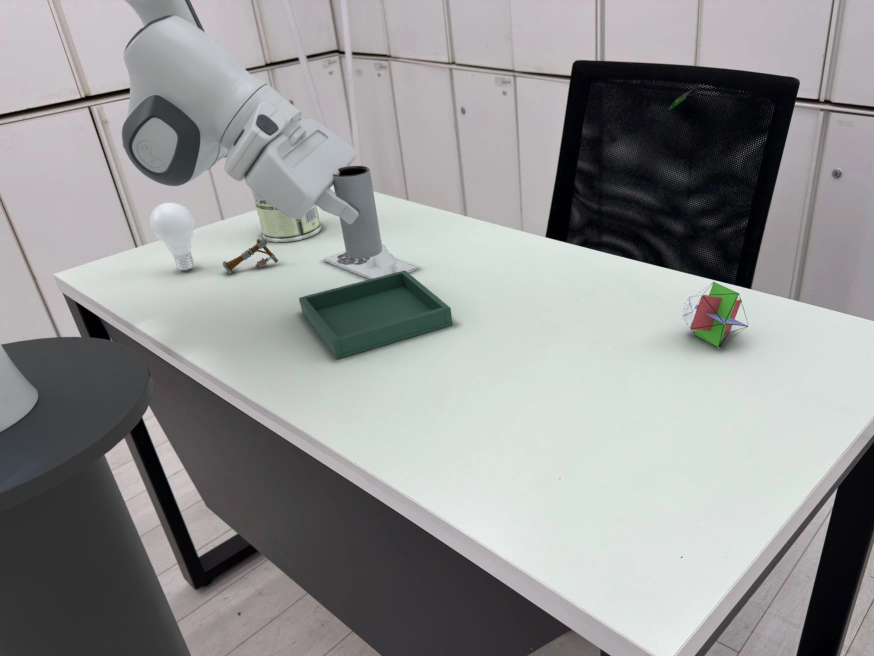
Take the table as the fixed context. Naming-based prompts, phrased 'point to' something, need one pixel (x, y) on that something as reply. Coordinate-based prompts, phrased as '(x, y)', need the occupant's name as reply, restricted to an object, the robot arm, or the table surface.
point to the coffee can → (285, 223)
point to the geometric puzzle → (713, 313)
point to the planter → (365, 229)
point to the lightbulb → (174, 231)
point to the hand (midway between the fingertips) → (362, 210)
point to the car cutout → (370, 264)
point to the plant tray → (374, 313)
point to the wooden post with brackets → (259, 245)
